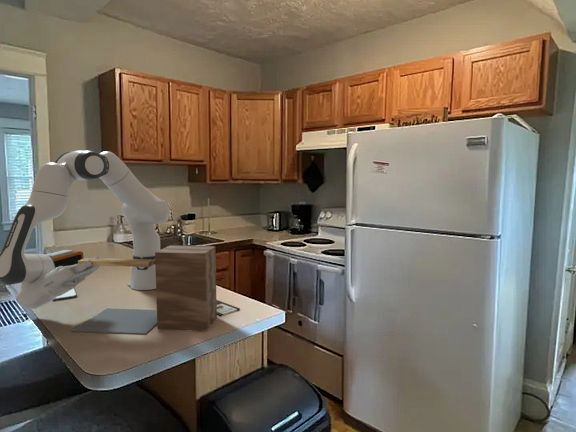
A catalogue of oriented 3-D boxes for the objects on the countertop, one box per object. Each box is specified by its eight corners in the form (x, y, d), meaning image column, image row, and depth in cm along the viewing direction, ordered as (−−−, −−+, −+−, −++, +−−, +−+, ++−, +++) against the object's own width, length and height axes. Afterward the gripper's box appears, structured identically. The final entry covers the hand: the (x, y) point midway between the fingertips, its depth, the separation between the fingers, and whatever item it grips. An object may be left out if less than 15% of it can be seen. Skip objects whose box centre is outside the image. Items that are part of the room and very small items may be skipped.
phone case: (77, 299, 152) (74, 288, 166) (77, 295, 152) (73, 284, 165) (52, 303, 147) (50, 291, 161) (51, 299, 147) (49, 288, 160)
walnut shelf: (171, 315, 133) (169, 245, 130) (216, 317, 132) (215, 246, 129) (157, 329, 121) (154, 252, 118) (206, 331, 120) (205, 253, 117)
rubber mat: (106, 309, 139) (106, 308, 139) (170, 311, 137) (170, 310, 137) (71, 331, 119) (71, 330, 119) (145, 334, 117) (145, 333, 117)
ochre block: (85, 262, 129) (85, 258, 129) (153, 264, 127) (153, 259, 127) (78, 265, 125) (77, 260, 125) (148, 266, 123) (148, 262, 123)
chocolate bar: (210, 297, 151) (239, 308, 139) (210, 299, 151) (239, 311, 139) (191, 303, 145) (219, 315, 132) (191, 305, 145) (219, 317, 132)
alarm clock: (47, 282, 174) (46, 257, 173) (32, 281, 176) (30, 257, 174) (84, 269, 198) (83, 248, 196) (70, 268, 199) (69, 247, 198)
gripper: (34, 280, 118) (70, 259, 116) (76, 264, 138) (107, 246, 136) (45, 297, 118) (80, 276, 116) (85, 279, 138) (116, 261, 137)
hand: (95, 260), depth 126 cm, fingers closed on ochre block, 4 cm apart
